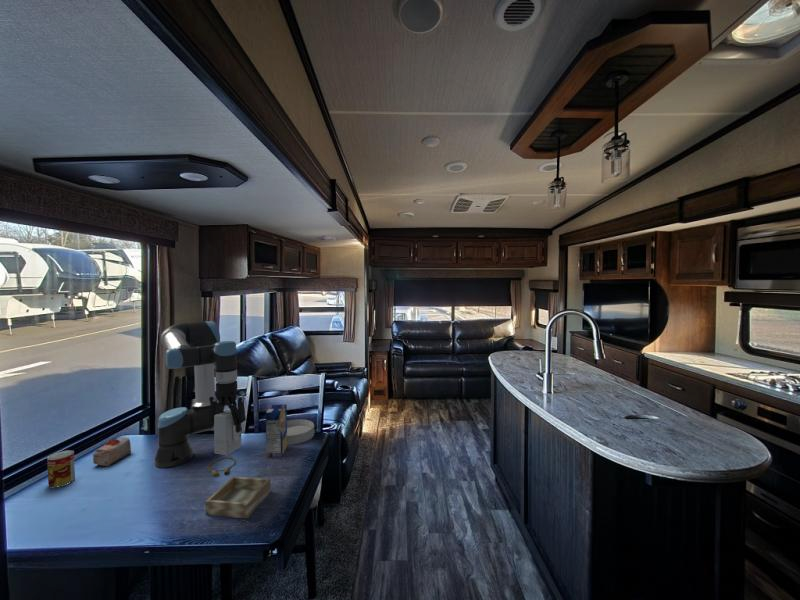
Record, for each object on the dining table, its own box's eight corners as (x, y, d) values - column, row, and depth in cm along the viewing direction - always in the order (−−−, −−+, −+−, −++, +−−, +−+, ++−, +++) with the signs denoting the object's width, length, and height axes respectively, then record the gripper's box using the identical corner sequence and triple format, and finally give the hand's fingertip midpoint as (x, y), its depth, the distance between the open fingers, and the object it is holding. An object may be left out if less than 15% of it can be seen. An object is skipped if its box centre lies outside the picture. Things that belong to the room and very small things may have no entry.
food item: (108, 468, 154) (107, 446, 153) (91, 467, 154) (90, 446, 154) (133, 453, 167) (132, 433, 167) (117, 453, 168) (117, 433, 167)
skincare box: (226, 456, 128) (225, 416, 128) (213, 453, 130) (212, 415, 129) (242, 446, 136) (242, 409, 136) (230, 444, 138) (229, 408, 137)
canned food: (48, 483, 142) (47, 455, 141) (74, 475, 148) (73, 448, 147) (48, 490, 137) (47, 461, 136) (75, 482, 142) (74, 454, 142)
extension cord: (197, 478, 146) (197, 473, 146) (216, 459, 162) (215, 455, 162) (226, 477, 147) (226, 473, 146) (241, 459, 162) (241, 455, 162)
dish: (281, 427, 198) (281, 419, 198) (319, 427, 198) (319, 419, 197) (265, 445, 176) (265, 435, 176) (307, 445, 176) (307, 436, 175)
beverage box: (266, 457, 162) (265, 412, 162) (273, 447, 173) (272, 404, 172) (281, 457, 163) (280, 412, 162) (287, 446, 174) (286, 404, 173)
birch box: (205, 514, 122) (205, 501, 122) (233, 488, 138) (232, 476, 138) (247, 518, 120) (247, 504, 120) (270, 491, 136) (270, 479, 136)
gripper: (197, 383, 130) (198, 443, 130) (243, 384, 127) (245, 445, 128) (210, 378, 137) (212, 434, 138) (255, 379, 135) (256, 436, 135)
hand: (228, 439), depth 133 cm, fingers closed on skincare box, 6 cm apart
